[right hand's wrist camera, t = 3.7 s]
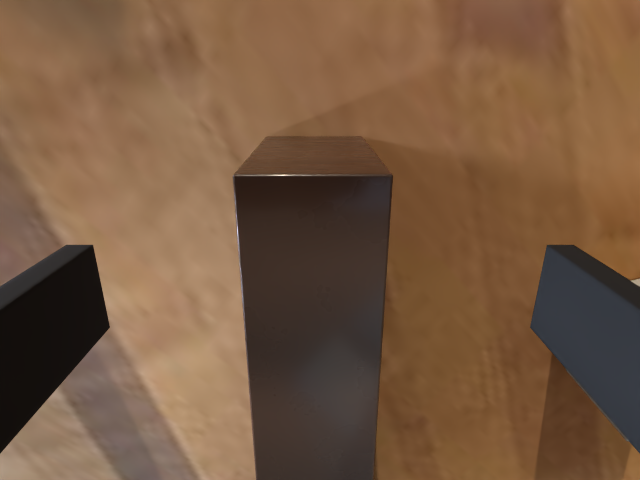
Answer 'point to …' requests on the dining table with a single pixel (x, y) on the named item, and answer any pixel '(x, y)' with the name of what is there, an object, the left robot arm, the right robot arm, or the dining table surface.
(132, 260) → the dining table surface
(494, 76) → the dining table surface
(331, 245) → the walnut beam
